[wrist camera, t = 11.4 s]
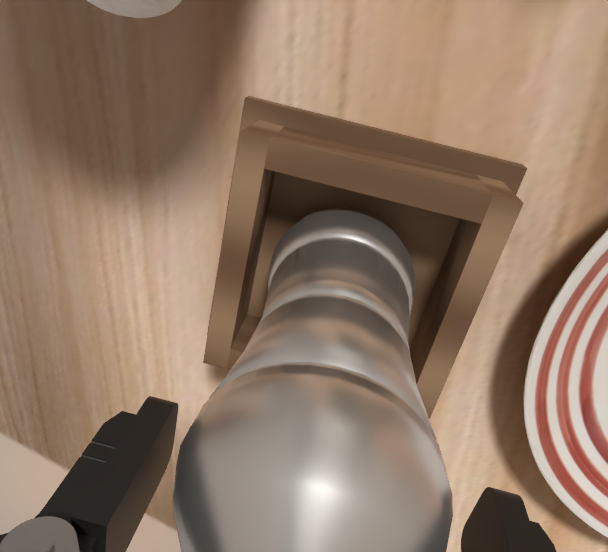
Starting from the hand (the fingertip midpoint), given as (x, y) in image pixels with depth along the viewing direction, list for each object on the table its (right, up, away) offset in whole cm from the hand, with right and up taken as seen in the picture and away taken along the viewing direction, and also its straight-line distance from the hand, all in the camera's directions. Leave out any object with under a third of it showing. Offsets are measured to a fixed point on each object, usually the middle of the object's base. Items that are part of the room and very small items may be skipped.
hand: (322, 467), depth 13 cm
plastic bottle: (+2, +6, +12) cm, 14 cm away
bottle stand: (+2, +6, +13) cm, 15 cm away
